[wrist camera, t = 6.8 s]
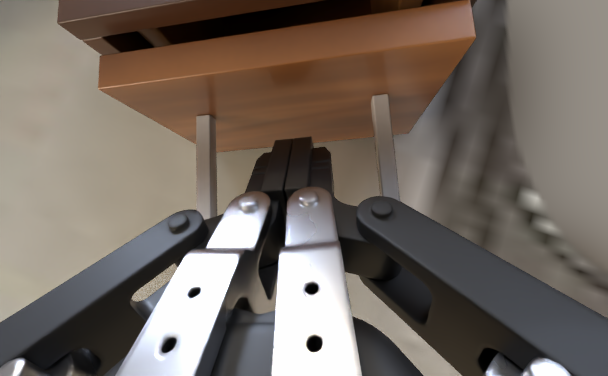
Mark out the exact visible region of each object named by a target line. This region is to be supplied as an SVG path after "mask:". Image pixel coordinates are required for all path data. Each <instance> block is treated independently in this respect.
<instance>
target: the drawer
mask: <svg viewBox="0 0 608 376" xmlns="http://www.w3.org/2000/svg"><path fill="white" fill-rule="evenodd" d="M422 2H423V0H324V1H318V2H312V3H306V4H300V5H294V6H287V7H281V8H275V9H269V10H263V11H257V12H251V13H244V14H238V15H232V16H226V17H220V18H214V19H208V20H202V21H195V22H189V23H183V24H177V25H171V26H165V27H159V28H152V29H146V30H140V31H138V32H139V33H140V34H141V35H142V36H143V37H144V38H145V39H146V40H147V41H148V42H149V43H150V44H151V45H152V46H153V47H154V48H148V49H141V50H135V51H128V52H122V53H115V54H109V55H102V56H100V64H99V82H98V89H99V90H101V91H102V92H104V93H106V94H108V95H109V96H111V97H113V98H115V99H116V100H118V101H120V102H122V103H124V104H125V105H127V106H129V107H131V108H132V109H134V110H136V111H138V112H140V113H141V114H143V115H145V116H147V117H148V118H150V119H152V120H154V121H156V122H157V123H159V124H161V125H163V126H164V127H166V128H168V129H170V130H171V131H173V132H175V133H177V134H179V135H180V136H182V137H184V138H186V139H187V140H189V141H191V142H193V143H195V144H196V160H197V211H199V212H200V213H201V214H202V216H203V218H204V220H205V219H209V218H212V217H216V216H217V166H216V152H225V151H235V150H245V149H255V148H265V147H273V146H274V142H275V140H282V139H292V138H293V139H294V138H301V137H312V141H313V143H316V142H326V141H336V140H346V139H356V138H367V137H374V140H375V150H376V160H377V170H378V180H379V190H380V196H385V197H391V198H394V199H396V200H398V201H400V196H399V187H398V178H397V169H396V160H395V151H394V142H393V135H397V134H407V133H409V132H410V130H411V129H412V128H413V126H414V125H415V123H416V122H417V121H418V119H419V118H420V116H421V115H422V114H423V112H424V111H425V109H426V108H427V106H428V105H429V104H430V102H431V101H432V99H433V98H434V97H435V95H436V94H437V92H438V91H439V90H440V88H441V87H442V85H443V84H444V83H445V81H446V80H447V78H448V77H449V76H450V74H451V73H452V71H453V70H454V68H455V67H456V66H457V64H458V63H459V61H460V60H461V59H462V57H463V56H464V54H465V53H466V52H467V50H468V49H469V47H470V46H471V45H472V43H473V42H474V40H475V39H476V31H475V25H474V19H473V13H472V7H471V1H470V0H461V1H454V2H448V3H441V4H435V5H428V6H422V7H421V5H422Z"/></svg>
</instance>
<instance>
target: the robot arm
mask: <svg viewBox="0 0 608 376" xmlns="http://www.w3.org/2000/svg"><path fill="white" fill-rule="evenodd" d="M174 263H175V264H176V266H177V267H178V269H177V271H176V272H175V274H174V276H173V278H172V279H171V280H170V281H169V282H168V283H166V284H165V285H164V286H162V287H161V288H160V289H158V290H157V291H156V292H155V293H153V294H152V295H151V296H149V297H148V298H147V299H145V300H143V301H139V302H136V301H133V300H131V298H132V296H133V294H134V293H135V292H136V291H137V290H138V289H140V288H141V287H142V286H144V285H145V284H146V283H148V282H149V281H150V280H152V279H153V278H155V277H156V276H157V275H159V274H160V273H161V272H163V271H164V270H165V269H167V268H168V267H169V266H171V265H172V264H174ZM345 272H348V273H352V274H356V275H359V277H360V279H361V281H362V282H363V283H364V284H365V285H366V286H367V287H368V288H369V289H370V290H371V291H372V292H373V293H374V294H375V295H376V296H377V297H379V298H380V299H381V300H382V301H383V302H384V303H385V304H386V305H387V306H388V307H389V308H390V309H391V310H393V311H394V312H395V313H396V314H397V315H398V316H399V317H400V318H401V319H402V320H403V321H404V322H405V323H407V324H408V325H409V326H410V327H411V328H412V329H413V330H414V331H415V332H416V333H417V334H418V335H419V336H421V337H422V338H423V339H424V340H425V341H426V342H427V343H428V344H429V345H430V346H431V347H432V348H433V349H435V350H436V351H437V352H438V353H439V354H440V355H441V356H442V357H443V358H444V359H445V360H446V361H447V362H448V363H450V364H451V365H452V366H453V367H454V368H455V369H456V370H457V371H458V372H459V373H460V374H461V375H462V376H608V319H607V318H606V317H604V316H602V315H600V314H599V313H597V312H595V311H593V310H591V309H590V308H588V307H586V306H584V305H583V304H581V303H579V302H577V301H576V300H574V299H572V298H570V297H568V296H567V295H565V294H563V293H561V292H560V291H558V290H556V289H554V288H552V287H551V286H549V285H547V284H545V283H544V282H542V281H540V280H538V279H537V278H535V277H533V276H531V275H529V274H528V273H526V272H524V271H522V270H521V269H519V268H517V267H515V266H513V265H512V264H510V263H508V262H506V261H505V260H503V259H501V258H499V257H498V256H496V255H494V254H492V253H490V252H489V251H487V250H485V249H483V248H482V247H480V246H478V245H476V244H474V243H473V242H471V241H469V240H467V239H466V238H464V237H462V236H460V235H459V234H457V233H455V232H453V231H451V230H450V229H448V228H446V227H444V226H443V225H441V224H439V223H437V222H436V221H434V220H432V219H430V218H428V217H427V216H425V215H423V214H421V213H420V212H418V211H416V210H414V209H412V208H411V207H409V206H407V205H405V204H404V203H402V202H400V201H398V200H396V199H394V198H391V197H385V196H376V197H371V198H368V199H366V200H364V201H362V202H361V203H360V204H359V205H358V207H357V206H351V205H347V204H344V203H341V202H340V201H338V200H337V199H336V198H335V197H334V187H333V175H332V164H331V154H330V152H329V151H328V150H327V149H326V148H325V147H319V148H313V141H312V137H301V138H294V139H293V138H292V139H282V140H275V142H274V146H273V149H272V152H269V153H264V154H263V155H262V156H261V157H260V158H258V159H257V161H256V164H255V167H254V169H253V172H252V175H251V178H250V180H249V183H248V186H247V189H246V191H245V193H244V194H241V195H239V196H237V197H236V198H235V199H233V200H232V201H231V202H230V204H229V205H228V207H227V209H226V211H225V213H224V214H222V215H219V216H216V217H212V218H209V219H205V220H204V218H203V216H202V214H201V213H200V212H199V211H196V210H184V211H180V212H177V213H175V214H173V215H171V216H169V217H168V218H166V219H165V220H163V221H161V222H160V223H158V224H157V225H155V226H153V227H152V228H150V229H149V230H147V231H145V232H144V233H142V234H141V235H139V236H137V237H136V238H134V239H133V240H131V241H130V242H128V243H126V244H125V245H123V246H122V247H120V248H118V249H117V250H115V251H114V252H112V253H110V254H109V255H107V256H106V257H104V258H102V259H101V260H99V261H98V262H96V263H95V264H93V265H91V266H90V267H88V268H87V269H85V270H83V271H82V272H80V273H79V274H77V275H75V276H74V277H72V278H71V279H69V280H67V281H66V282H64V283H63V284H61V285H60V286H58V287H56V288H55V289H53V290H52V291H50V292H48V293H47V294H45V295H44V296H42V297H40V298H39V299H37V300H36V301H34V302H32V303H31V304H29V305H28V306H26V307H25V308H23V309H21V310H20V311H18V312H17V313H15V314H13V315H12V316H10V317H9V318H7V319H5V320H4V321H2V322H1V323H0V376H423V374H422V373H421V372H420V371H419V370H418V369H417V368H416V367H415V366H414V365H413V364H412V362H411V361H410V360H409V359H408V358H407V357H406V356H405V355H404V354H403V353H402V352H401V350H400V349H399V348H398V347H397V346H396V345H395V344H394V343H393V342H392V341H391V340H390V339H389V338H388V337H387V336H386V335H384V334H383V333H382V332H381V331H379V330H378V329H377V328H375V327H374V326H372V325H370V324H368V323H367V322H365V321H363V320H360V319H358V318H355V317H352V312H351V306H350V300H349V294H348V288H347V282H346V276H345ZM275 306H276V310H275Z"/></svg>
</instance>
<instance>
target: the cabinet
mask: <svg viewBox="0 0 608 376" xmlns="http://www.w3.org/2000/svg"><path fill="white" fill-rule="evenodd" d="M318 1H324V0H59V7H58V19H57V23H58V24H59V25H60V26H62V27H63V28H64V29H66V30H67V31H69V32H70V33H72V34H73V35H74V36H76V37H77V38H79V39H80V40H83V42H85V43H86V44H87V45H89V46H90V47H92V48H93V49H94V50H96V51H97V52H99V53H100V54H101V55H109V54H115V53H122V52H128V51H135V50H141V49H148V48H154V47H153V46H152V45H151V44H150V43H149V42H148V41H147V40H146V39H145V38H144V37H143V36H142V35H141V34H140V33H139V32H138V31H140V30H146V29H152V28H159V27H165V26H171V25H177V24H183V23H189V22H195V21H202V20H208V19H214V18H220V17H226V16H232V15H238V14H244V13H251V12H257V11H263V10H269V9H275V8H281V7H287V6H294V5H300V4H306V3H312V2H318ZM454 1H461V0H423V2H422V5H421V7H422V6H428V5H435V4H441V3H448V2H454ZM470 1H471V7H473V5H474V4H475V2H476V0H470Z"/></svg>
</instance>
